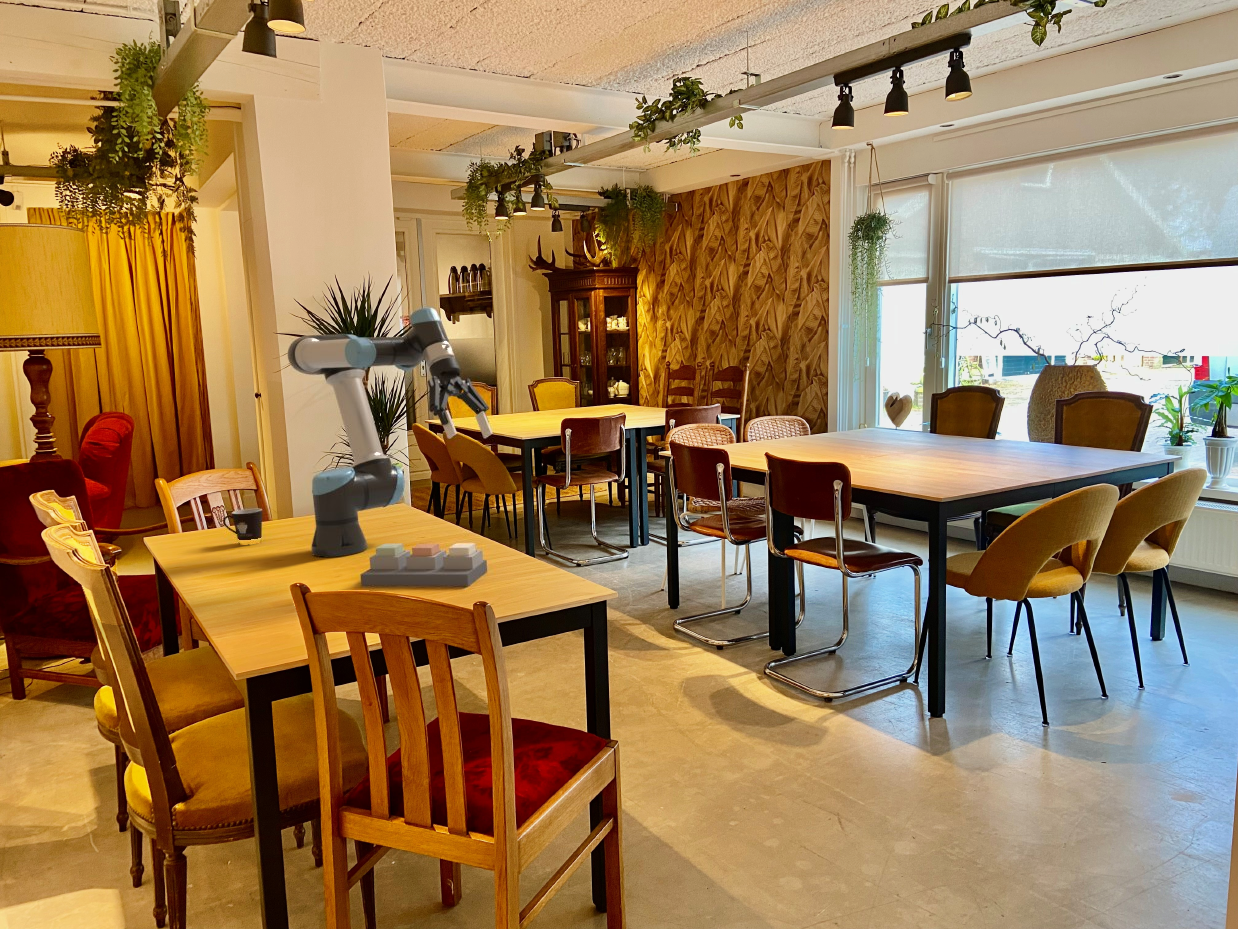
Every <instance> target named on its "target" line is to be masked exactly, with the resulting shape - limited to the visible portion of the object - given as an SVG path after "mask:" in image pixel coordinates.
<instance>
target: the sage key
mask: <svg viewBox="0 0 1238 929" xmlns="http://www.w3.org/2000/svg"><path fill="white" fill-rule="evenodd" d="M404 550H405V549H404V543H383V544H382V545H379V546H378V547H375V554H376V557H392V556H398V555H400V554H401V553H403V552H404Z"/></svg>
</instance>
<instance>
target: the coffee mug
mask: <svg viewBox="0 0 1238 929" xmlns="http://www.w3.org/2000/svg"><path fill="white" fill-rule="evenodd" d="M228 518H230V519H232V520H233V524H234V529H232V528H231V527H230V526H229V525H228V524H227V523H226V520H227V519H228ZM222 522H223V523H222V524H223V525H224V526H225V528H226V529H227V530H229V531H230V532H232V533H234V534H236V537H237V540H238V539H239V540H251V539H258V538H261V537H263V536H262V532H263V531H262V530H263V509H262V508H244V509H238V510H234V511H232V512H231V515H229V514H228V515H226V516H224V517H223V520H222Z"/></svg>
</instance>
